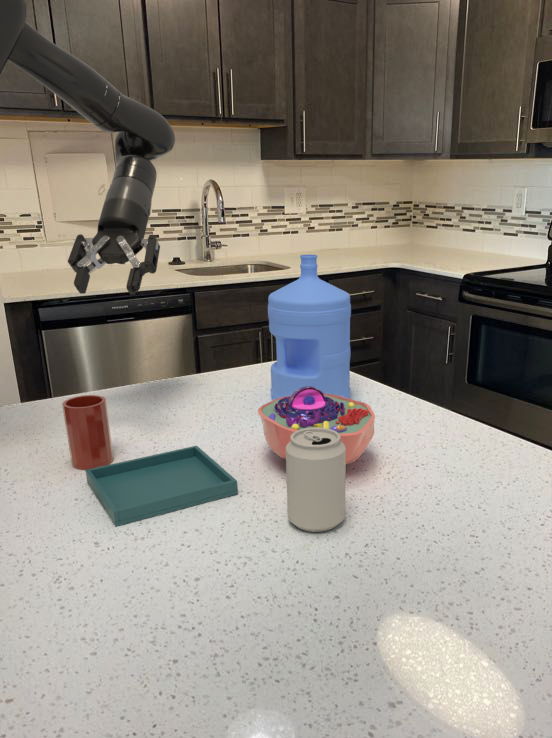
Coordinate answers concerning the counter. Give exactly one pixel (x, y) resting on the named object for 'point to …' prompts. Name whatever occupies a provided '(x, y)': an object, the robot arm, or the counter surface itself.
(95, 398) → the cup
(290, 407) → the cell model
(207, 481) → the rectangular tray
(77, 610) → the counter surface
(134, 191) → the robot arm
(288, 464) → the can
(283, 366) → the water jug
